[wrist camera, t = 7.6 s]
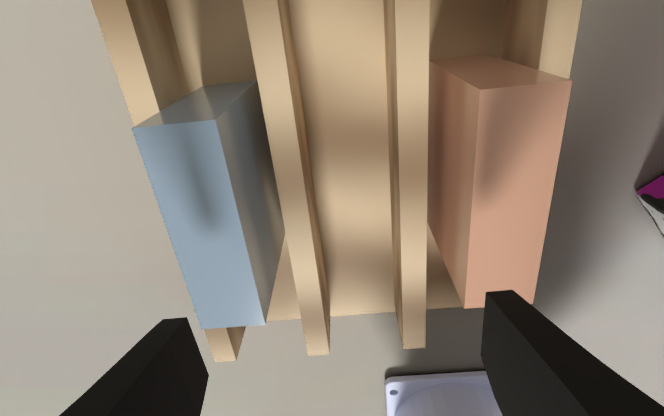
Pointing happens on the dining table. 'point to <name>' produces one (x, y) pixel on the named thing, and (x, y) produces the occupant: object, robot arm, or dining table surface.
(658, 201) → the candy bar box
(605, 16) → the dining table surface
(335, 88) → the dish rack
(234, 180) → the slate plate
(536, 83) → the salmon pink block
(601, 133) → the dining table surface
